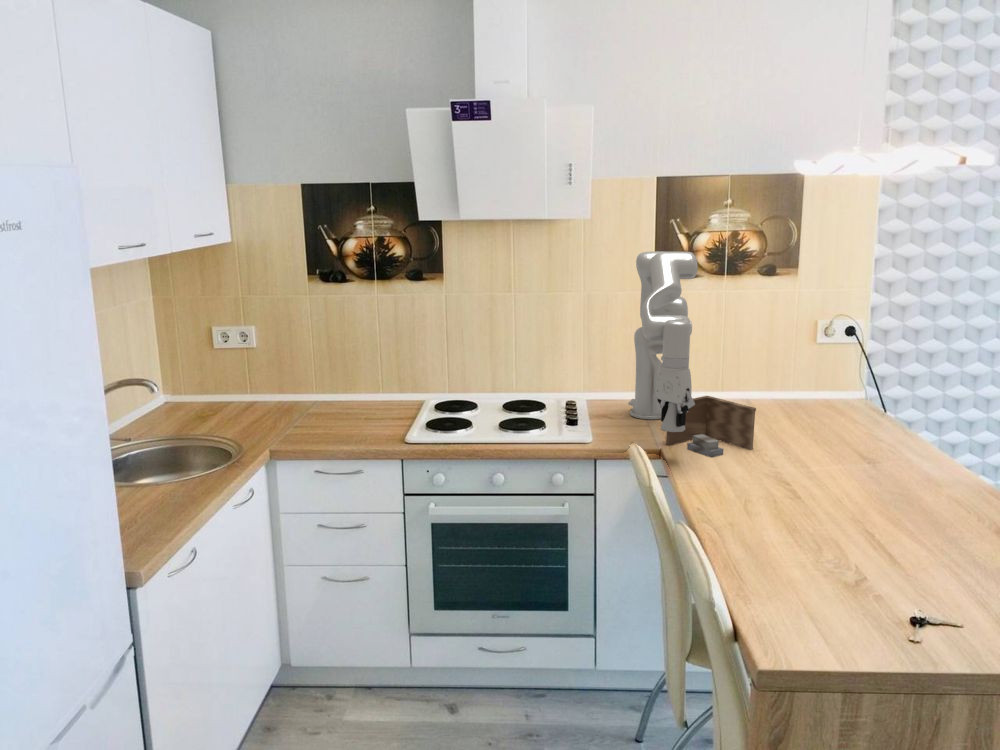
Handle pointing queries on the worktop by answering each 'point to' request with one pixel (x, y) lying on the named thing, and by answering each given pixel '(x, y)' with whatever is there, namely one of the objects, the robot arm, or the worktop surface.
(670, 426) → the flask
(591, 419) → the worktop surface
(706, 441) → the offcut top
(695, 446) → the tray
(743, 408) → the brown wooden corner wall
